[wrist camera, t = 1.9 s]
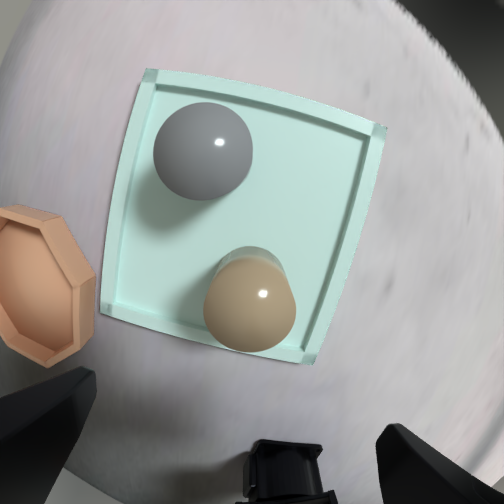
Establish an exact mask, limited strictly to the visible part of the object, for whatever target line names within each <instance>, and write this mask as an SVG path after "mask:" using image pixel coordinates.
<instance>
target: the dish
mask: <svg viewBox="0 0 504 504" xmlns="http://www.w3.org/2000/svg"><path fill="white" fill-rule="evenodd" d="M95 275H96V274H95V273H94V271H93V270H92V268H91V266H90V265H89V263H88V262H87V260H86V258H85V257H84V255H83V253H82V252H81V250H80V248H79V246H78V245H77V243H76V241H75V239H74V238H73V236H72V234H71V232H70V230H69V229H68V227H67V225H66V223H65V221H64V219H63V217H61V216H59V215H56V214H52V213H48V212H45V211H41V210H37V209H34V208H30V207H26V206H23V205H19V204H18V205H12V206H7V207H2V208H0V336H1V337H2V339H3V340H4V342H5V343H6V345H7V346H8V347H10V348H11V349H13V350H15V351H16V352H18V353H20V354H22V355H23V356H25V357H27V358H29V359H31V360H33V361H34V362H36V363H38V364H40V365H42V366H44V367H46V368H49V367H51V366H53V365H55V364H56V363H58V362H60V361H61V360H63V359H65V358H67V357H68V356H70V355H72V354H73V353H75V352H77V351H79V350H80V349H81V348H82V347H83V346H84V345H85V344H86V342H87V341H88V340H89V339H90V338H91V337H92V336H93V335H94V305H95V285H96V276H95Z"/></svg>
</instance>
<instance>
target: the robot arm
mask: <svg viewBox="0 0 504 504" xmlns="http://www.w3.org/2000/svg"><path fill="white" fill-rule="evenodd" d="M96 392H97V389H96V375H95V371H94V370H92V369H89V368H87V367H85V366H80V367H77V368H75V369H73V370H70V371H68V372H65V373H63V374H60V375H58V376H55V377H53V378H50V379H48V380H45V381H43V382H40V383H38V384H35V385H32V386H30V387H27V388H25V389H22V390H19V391H17V392H14V393H11V394H9V395H6V396H3V397H1V398H0V504H44V503H45V501H46V499H47V497H48V495H49V493H50V491H51V489H52V487H53V485H54V483H55V481H56V479H57V477H58V476H59V474H60V472H61V470H62V468H63V466H64V464H65V462H66V460H67V459H68V457H69V455H70V453H71V451H72V449H73V447H74V446H75V444H76V442H77V440H78V438H79V436H80V434H81V431H82V429H83V426H84V424H85V421H86V419H87V416H88V414H89V412H90V409H91V407H92V404H93V402H94V400H95V397H96ZM322 450H323V448H322V446H321V445H315V444H299V443H288V442H278V441H269V440H260V441H259V442H258V444H257V446H256V448H255V450H254V452H253V454H250V455H249V457H248V459H247V461H246V463H245V465H244V467H243V496H244V497H245V498H249V502H235V504H338V501H337V498H336V495H335V492H334V490H330V491H328V492H323V487H322V482H321V477H320V473H319V468H318V463H317V458H318V456H319V455H320V453H321V452H322ZM376 455H377V464H378V474H379V483H380V488H381V493H382V498H383V503H384V504H504V494H503V493H501V492H499V491H497V490H495V489H493V488H492V487H490V486H488V485H486V484H485V483H483V482H482V481H480V480H479V479H477V478H476V477H474V476H471V474H470V473H468V472H467V471H465V470H464V469H462V468H461V467H460V466H458V465H457V464H455V463H454V462H452V461H451V460H450V459H448V458H447V457H445V456H444V455H442V454H441V453H440V452H438V451H437V450H435V449H434V448H433V447H431V446H430V445H429V444H427V443H426V442H424V441H423V440H422V439H420V438H419V437H418V436H416V435H415V434H414V433H412V432H411V431H410V430H408V429H407V428H406V427H404V426H403V425H402V424H399V423H395V424H389V425H387V426H386V428H385V429H384V431H383V432H382V433H381V435H380V436H379V438H378V439H377V441H376Z"/></svg>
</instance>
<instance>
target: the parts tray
mask: <svg viewBox="0 0 504 504" xmlns="http://www.w3.org/2000/svg"><path fill="white" fill-rule="evenodd" d="M200 102H211V103H217V104H220V105H223V106H226V107H228V108H229V109H231V110H233V111H234V112H235V113H237V114H238V115H239V116H240V117H241V118H242V120H243V121H244V122H245V124H246V125H247V127H248V129H249V131H250V134H251V138H252V142H253V158H252V166H251V170H250V172H249V175H248V177H247V178H246V180H245V181H244V182H243V183H242V184H241V185H240V186H239V187H238V188H236V189H235V190H233V191H231V192H229V193H227V194H225V195H223V196H221V197H218V198H215V199H211V200H203V201H199V200H190V199H187V198H183V197H181V196H179V195H177V194H175V193H174V192H172V191H171V190H170V189H169V188H167V187H166V185H165V184H164V183H163V182H162V180H161V179H160V178H159V176H158V174H157V171H156V168H155V165H154V160H153V147H154V142H155V138H156V135H157V133H158V131H159V129H160V128H161V126H162V124H163V123H164V122H165V121H166V119H167V118H168V117H169V116H171V115H172V114H173V113H174V112H176V111H177V110H179V109H181V108H182V107H185V106H187V105H190V104H194V103H200ZM386 132H387V127H384V126H382V125H380V124H377V123H375V122H372V121H370V120H367V119H365V118H362V117H360V116H357V115H354V114H352V113H349V112H346V111H343V110H341V109H338V108H335V107H332V106H329V105H326V104H323V103H320V102H317V101H314V100H310V99H307V98H304V97H300V96H297V95H293V94H290V93H286V92H282V91H279V90H275V89H271V88H267V87H262V86H258V85H254V84H249V83H245V82H240V81H235V80H230V79H225V78H219V77H213V76H207V75H201V74H194V73H186V72H178V71H170V70H159V69H147V68H146V70H145V73H144V75H143V78H142V81H141V84H140V87H139V90H138V94H137V97H136V100H135V103H134V107H133V110H132V113H131V117H130V121H129V124H128V128H127V132H126V135H125V139H124V143H123V148H122V152H121V156H120V160H119V165H118V170H117V174H116V179H115V185H114V190H113V195H112V201H111V207H110V213H109V220H108V227H107V234H106V242H105V250H104V260H103V270H102V283H101V299H100V313H103V314H106V315H108V316H111V317H114V318H117V319H120V320H123V321H126V322H130V323H133V324H136V325H139V326H142V327H146V328H149V329H152V330H156V331H159V332H162V333H166V334H170V335H173V336H177V337H180V338H184V339H188V340H192V341H196V342H199V343H203V344H207V345H212V346H216V347H220V348H224V349H229V350H232V349H230V348H228V347H226V346H224V345H222V344H221V343H220V342H218V341H217V340H216V339H215V338H214V337H213V336H212V334H211V333H210V332H209V330H208V328H207V326H206V324H205V320H204V315H203V306H204V301H205V297H206V295H207V292H208V289H209V287H210V284H211V282H212V279H213V276H214V274H215V271H216V269H217V267H218V264H219V263H220V261H221V260H222V259H223V257H224V256H225V255H227V254H228V253H229V252H231V251H232V250H234V249H237V248H240V247H244V246H256V247H260V248H263V249H266V250H268V251H269V252H271V253H272V254H274V255H275V256H276V257H277V258H278V260H279V261H280V262H281V264H282V266H283V269H284V271H285V274H286V277H287V280H288V282H289V285H290V288H291V291H292V294H293V297H294V300H295V304H296V318H295V322H294V325H293V327H292V329H291V331H290V332H289V334H288V335H287V336H286V338H284V339H283V340H282V341H281V342H280V343H279V344H277V345H276V346H274V347H272V348H270V349H267V350H264V351H260V352H252V353H248V352H242V353H247V354H252V355H257V356H262V357H267V358H272V359H277V360H283V361H288V362H294V363H300V364H307V365H313V364H314V362H315V359H316V357H317V355H318V352H319V350H320V347H321V345H322V343H323V340H324V338H325V335H326V333H327V330H328V328H329V325H330V322H331V320H332V317H333V315H334V312H335V309H336V306H337V304H338V301H339V298H340V296H341V293H342V290H343V287H344V284H345V281H346V278H347V275H348V273H349V270H350V267H351V263H352V260H353V257H354V254H355V251H356V248H357V245H358V241H359V238H360V235H361V232H362V228H363V225H364V221H365V218H366V214H367V211H368V207H369V204H370V200H371V196H372V192H373V188H374V185H375V181H376V177H377V172H378V168H379V164H380V160H381V155H382V151H383V146H384V142H385V137H386ZM233 351H236V350H233ZM238 352H239V351H238Z"/></svg>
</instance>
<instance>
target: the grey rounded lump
mask: <svg viewBox="0 0 504 504" xmlns="http://www.w3.org/2000/svg"><path fill="white" fill-rule="evenodd" d="M252 158H253V142H252V138H251V134H250V131H249V129H248V127H247V125H246V124H245V122H244V121H243V120H242V118H241V117H240V116H239V115H238V114H237V113H235V112H234V111H233V110H231V109H229V108H228V107H226V106H223V105H220V104H217V103H211V102H200V103H194V104H190V105H187V106H185V107H182V108H181V109H179V110H177V111H176V112H174V113H173V114H172V115H171V116H169V117H168V118H167V119H166V121H165V122H164V123H163V124H162V126H161V128H160V129H159V131H158V133H157V135H156V138H155V142H154V147H153V160H154V165H155V168H156V171H157V174H158V176H159V178H160V179H161V180H162V182H163V183H164V184H165V185H166V187H167V188H169V189H170V190H171V191H172V192H174V193H175V194H177V195H179V196H181V197H183V198H187V199H190V200H199V201H203V200H211V199H215V198H218V197H221V196H223V195H225V194H227V193H229V192H231V191H233V190H235V189H236V188H238V187H239V186H240V185H241V184H242V183H243V182H244V181H245V180H246V178H247V177H248V175H249V172H250V170H251V166H252Z"/></svg>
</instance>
